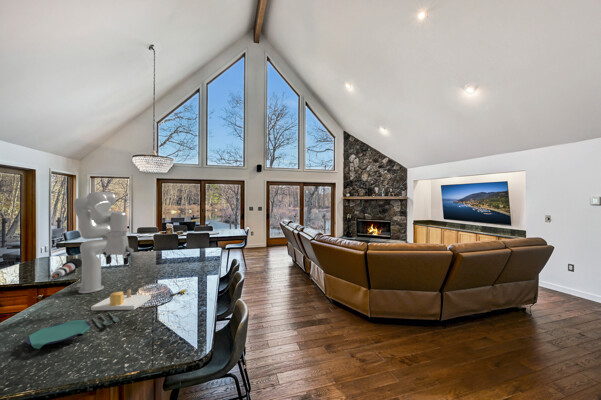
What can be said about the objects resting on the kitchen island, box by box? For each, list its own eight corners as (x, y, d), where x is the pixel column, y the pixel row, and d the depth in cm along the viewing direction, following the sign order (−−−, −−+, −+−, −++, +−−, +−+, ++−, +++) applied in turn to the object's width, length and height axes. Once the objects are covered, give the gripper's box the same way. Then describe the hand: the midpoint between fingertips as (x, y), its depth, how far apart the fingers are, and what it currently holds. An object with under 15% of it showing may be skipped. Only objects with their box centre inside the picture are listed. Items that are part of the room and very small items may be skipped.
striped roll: (55, 267, 183) (65, 277, 186) (77, 256, 215) (85, 265, 217) (41, 276, 180) (51, 286, 183) (64, 263, 212) (73, 272, 214)
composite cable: (170, 297, 151) (170, 293, 151) (168, 295, 155) (168, 291, 155) (187, 293, 158) (187, 289, 158) (185, 291, 161) (185, 287, 161)
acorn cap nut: (107, 306, 133) (107, 295, 133) (115, 301, 138) (115, 291, 139) (118, 305, 133) (118, 295, 133) (125, 301, 139) (125, 291, 139)
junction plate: (91, 310, 132) (91, 298, 132) (112, 298, 148) (112, 288, 148) (134, 309, 133) (134, 298, 133) (151, 298, 149) (151, 287, 149)
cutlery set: (23, 338, 106) (23, 332, 106) (110, 313, 129) (110, 309, 129) (27, 355, 94) (27, 349, 94) (123, 325, 117) (123, 320, 117)
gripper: (97, 234, 139) (96, 265, 139) (129, 235, 140) (128, 266, 140) (107, 232, 147) (106, 262, 147) (137, 233, 147) (136, 262, 147)
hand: (117, 264), depth 143 cm, fingers open, 9 cm apart
